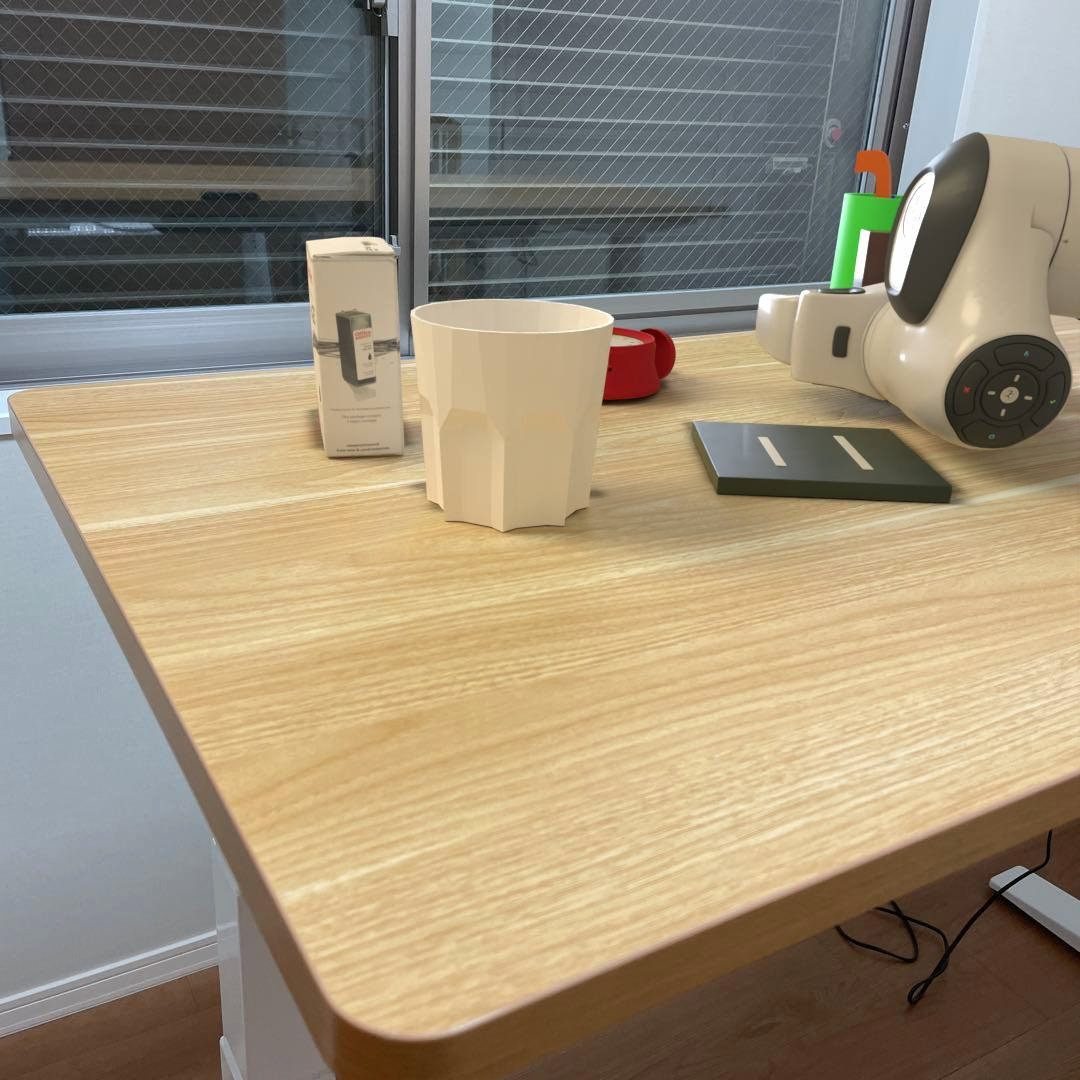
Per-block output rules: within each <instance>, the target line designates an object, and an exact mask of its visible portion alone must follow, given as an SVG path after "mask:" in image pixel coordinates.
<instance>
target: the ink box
mask: <svg viewBox="0 0 1080 1080" xmlns="http://www.w3.org/2000/svg"><path fill="white" fill-rule="evenodd" d="M305 251H306V265H307V281H308V283H307V284H308V295H309V297H308V298H309V311H310V326H311V342H312V343H311V344H312V354H313V367H314V378H315V379H314V380H315V390H316V402H317V413H318V422H319V427H320V432H321V438H322V443H323V449H324V454H325V457H327V458H350V457H383V456H384V457H385V456H404V455H405V430H404V428H405V427H404V407H403V404H404V403H403V387H402V386H403V385H402V384H403V383H402V382H403V381H402V361H401V360H402V359H401V340H400V339H401V338H400V337H401V336H400V311H399V308H400V307H399V286H398V263H397V262H398V261H397V257H396V251H395V250H394V248H393V247H392V246H391V245H390V244H389V243H388V242H387V241H386V240H385V239H384V238H383V237H377V236H376V237H375V236H341V237H331V238H322V239H313V240H306V241H305Z"/></svg>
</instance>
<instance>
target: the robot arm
mask: <svg viewBox="0 0 1080 1080" xmlns="http://www.w3.org/2000/svg"><path fill="white" fill-rule="evenodd" d="M902 196H903V197H902V200H901V202H900V204H899V207H898V210H897V213H896V216H895V219H894V222H893V225H892V229H891V232H890V237H889V241H888V246H887V252H886V260H885V270H884V282H883V283H879V284H874V285H870V286H865V287H851V288H833V289H830V288H818V289H815V288H813V289H809V288H808V289H805V290H802V291H801V293H800V294H786V293H775V292H770V293H764V294H762V295H761V296H760V297H759V301H758V304H757V305H758V306H757V312H756V313H757V314H756V319H755V339H756V342H757V343H758V345H759V346H760V347H761V348H762V350H763V351H764V352H766V353H767V354H768V355H769V356H770V357H771V358H773V359H774V360H776V361H777V362H779V363H781V364H784V365H787V366H790V376H791V378H792V379H793V380H795V381H797V382H801V383H804V384H805V383H806V384H812V385H816V386H823V387H830V388H836V389H840V390H847V391H849V390H850V391H853V392H855V393H860V394H862V395H865V396H868V397H871V398H873V399H876V400H879V401H888V402H889V403H891V404H892V405H893V406H894V407H897V408H899V410H900V411H901V412H902V413H903V414H904V415H905V416H906V417H907V418H909V419H910V420H911V421H912V422H914V423H915V424H916V425H918V427H920V428H922V429H923V430H925V431H927V432H928V433H930V434H932V435H933V436H936V437H937V438H939V439H941V440H943V441H945V442H947V443H949V444H952V445H954V446H958V447H961V448H964V449H968V450H969V449H970V450H975V451H992V450H1001V449H1006V448H1010V447H1014V446H1016V445H1019V444H1021V443H1024V442H1026V441H1028V440H1030V439H1032V438H1034V437H1035V436H1037V435H1038V434H1040V433H1041V432H1043V431H1044V430H1046V429H1047V428H1048V427H1049V426H1050V425H1051V424H1052V423H1053V422H1054V421H1055V420H1056V419H1057V418H1058V417H1059V416H1060V415H1061V413H1062V412H1063V411H1064V409H1065V407H1066V405H1067V403H1068V401H1069V399H1070V395H1071V393H1072V389H1073V381H1074V371H1073V366H1072V361H1071V359H1070V358H1069V355H1068V353H1067V351H1066V348H1064V346H1063V344H1062V343H1061V341H1060V340H1059V337H1058V336H1057V333H1056V332H1055V329H1054V326H1053V324H1052V323H1053V322H1052V318H1051V316H1058V317H1064V318H1073V319H1076V320H1077V321H1080V148H1079V147H1073V146H1066V145H1060V144H1057V143H1055V142H1049V141H1045V140H1044V141H1041V140H1036V139H1029V138H1023V137H1014V136H1006V135H998V134H991V133H990V134H989V133H982V132H979V131H973V132H971V133H969V134H966V135H964V136H962V137H960V138H959V139H957V140H955V141H954V142H952V143H951V144H948V146H947V147H945V148H944V149H943V150H942V151H940V152H939V153H938V154H937V155H936V156H935V157H933V158H932V159H931V160H930V162H928V163H927V164H926V165H924V167H923V168H922V169H921V170H920V172H918V173H917V174H916V175H915V176H914V178H913V179H912V181H911V182H910V183H909V185H908V186H907V188H906V190H905V192H904V193H903V195H902Z"/></svg>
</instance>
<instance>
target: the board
mask: <svg viewBox="0 0 1080 1080" xmlns="http://www.w3.org/2000/svg"><path fill="white" fill-rule="evenodd" d="M691 423H692V424H691V433H690V435H691V437H692V439H693V442H694V444H695V446H696V448H697V449H696V450H697V451H698V453H699V455H700V458H701V461H702V463H703V465H704V467H705V470H706V471H707V474H708V476H709V479H710V481H711V483H712V485H713V487H714V490H715V493H716V494H717V495H720V494H721V495H742V496H743V495H744V496H745V495H746V496H768V497H770V496H771V497H794V498H817V499H818V498H819V499H820V498H821V499H840V500H841V499H844V500H866V501H867V500H868V501H891V502H892V501H893V502H912V503H913V502H917V503H939V504H942V503H943V504H950V502H951V499H952V493H953V488H954V487H953V485H952V484H951V483H950V482H948V481H947V480H946V479H945V478H944V477H943V476H942V475H941V474H940V473H938V472H937V471H936V470H935V469H934V468H933V467H932V466H931V465H929V464H928V463H927V462H926V461H925V460H924V459H923V458H922V457H920V456H919V454H917V453H916V452H915V451H914V450H913V449H911V448H910V447H909V445H907V444H906V443H905V442H904V441H903V440H902V439H901V438H899V436H897V435H896V434H895V433H894V432H893V431H891V429H889V428H879V427H878V428H877V427H851V426H829V425H827V426H826V425H806V424H805V425H804V424H803V425H802V424H801V425H800V424H778V423H777V424H776V423H752V422H726V421H725V422H724V421H707V420H706V421H705V420H703V421H701V420H693V421H692V422H691Z"/></svg>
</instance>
